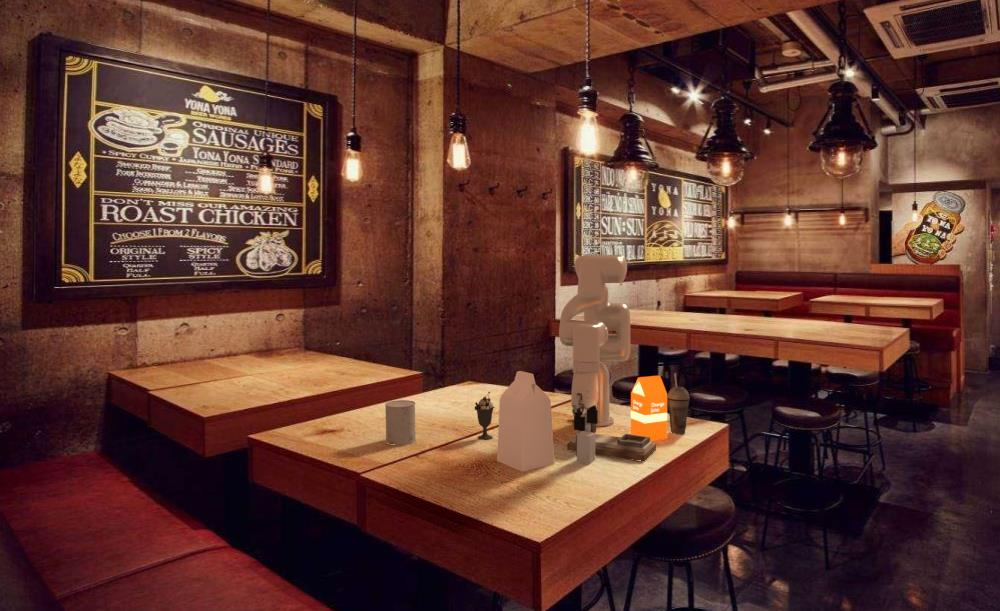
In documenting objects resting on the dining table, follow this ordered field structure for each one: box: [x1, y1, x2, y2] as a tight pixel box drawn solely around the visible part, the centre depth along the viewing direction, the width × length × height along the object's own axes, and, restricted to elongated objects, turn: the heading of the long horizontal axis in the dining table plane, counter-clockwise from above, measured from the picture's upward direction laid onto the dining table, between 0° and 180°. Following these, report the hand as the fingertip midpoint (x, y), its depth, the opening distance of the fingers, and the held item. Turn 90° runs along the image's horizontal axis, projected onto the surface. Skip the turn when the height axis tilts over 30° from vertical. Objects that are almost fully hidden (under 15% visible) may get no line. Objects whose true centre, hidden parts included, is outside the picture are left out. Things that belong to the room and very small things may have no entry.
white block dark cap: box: [575, 431, 596, 465], centre depth 183 cm, size 4×4×8 cm
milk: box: [496, 370, 555, 473], centre depth 181 cm, size 12×12×26 cm
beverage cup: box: [667, 372, 690, 435], centre depth 211 cm, size 7×7×20 cm
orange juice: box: [630, 375, 668, 442], centre depth 205 cm, size 8×9×20 cm
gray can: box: [384, 399, 417, 446], centre depth 204 cm, size 10×10×12 cm
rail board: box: [566, 409, 657, 462], centre depth 192 cm, size 24×12×11 cm, turn 61°
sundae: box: [474, 391, 496, 441], centre depth 207 cm, size 7×7×15 cm
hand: (585, 426), depth 182 cm, fingers open, 9 cm apart
